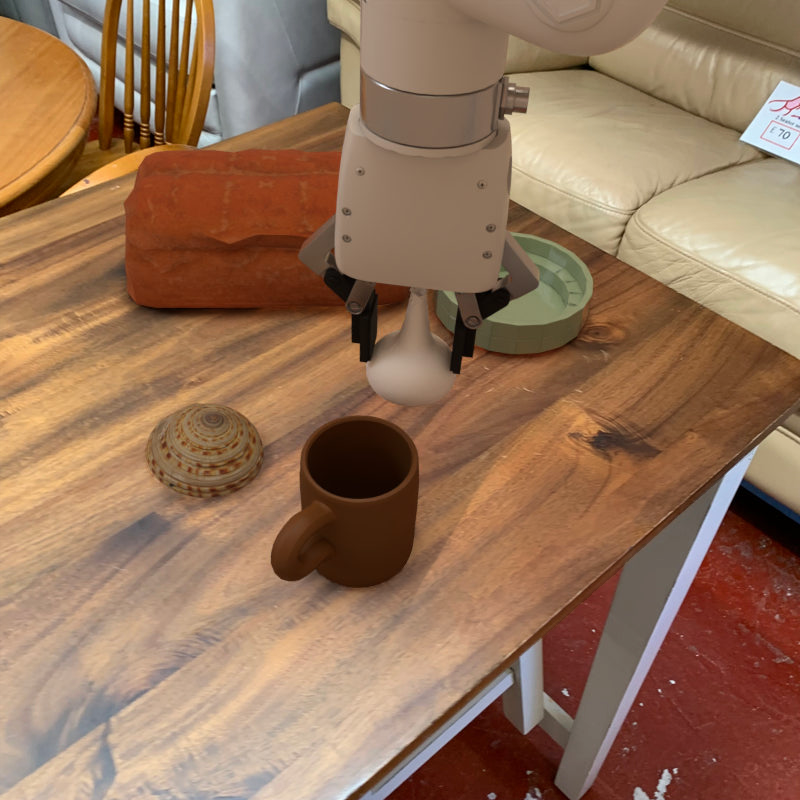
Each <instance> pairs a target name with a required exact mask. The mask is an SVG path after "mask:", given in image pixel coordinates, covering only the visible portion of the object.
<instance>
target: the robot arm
mask: <svg viewBox="0 0 800 800" xmlns="http://www.w3.org/2000/svg"><path fill="white" fill-rule="evenodd" d="M668 2H669V0H359V4H360V5H359V25H360V26H359V102H358V103H356V104H354V105H353V106H352V107H351V109H350V111H349V114H348V118H347V123H346V127H345V132H344V137H343V143H342V149H341V151H342V155H341V162H340V171H339V181H338V192H337V206H336V213H335V214H334V215H333V216H332V217H331V218H330V219H329V220H328V221H327V222H325V223H324V224H323V225H322V226H321V227H320V228H319V229H318V230H317V231H315V232H314V233H313V234H312V235H311V236H310V237H309V238H308V239H307V240H305V241H304V243H303V244H302V247H301V249H300V252H299V255H298V257H299V260H300V261H301V262H302V263H304V264H305V265H306V266H307V267H308V268H309V269H311V270H312V271H313V272H314V273H315V274H317V275H318V276H319V275H320V276H321V277H322V278H323V279H324V283H325V284H326V285H327V286H328V287H329V288H330V289H331V290H332V291H333V292H334V293H335V294H336V295H338V296H339V297H340V298H341V299H342V300H343V301H344V302H345V303H346V305H345V306H344V307H345V310H346V312H348V313H349V314H350V316H351V317H350V318H351V321H350V323H351V324H350V326H351V327H350V328H351V332H350V333H351V334H350V337H351V344H357V345H359V363H367V362H368V361H371V357H372V353H373V349H374V345H375V344H376V342H377V338H378V337H377V336H378V316H379V315H378V314H379V305H378V294H376V289H374V287H375V285H376V283H384V284H392V285H400V286H408V287H416V288H425V289H427V290H433V291H434V290H443V291H452V292H454V293H455V296H456V300H457V303H458V309H457V316H456V323H455V329H454V333H453V337H452V338H453V339H452V340H453V341H452V349H451V351H452V356H451V365H450V371H452V372H453V374H457V375H461V370H462V363H463V358H469V359H473V358H474V352H475V346H476V345H475V337H476V330H477V328H479V327H480V326H481V325H482V321H483V320H484V319H486V318H488V317H489V316H491V315H493V314H494V313H496V312H498V311H499V310H501V309H503V308H505V307H506V306H507V305H508V304H509V302H510V301H511V300H513V299H515V300H516V299H518V298H520V297H522V296H523V295H525V294H527V293H529V292H531V291H533V290H535V289H536V288H538V286H539V273H540V271H539V269H538V268H537V266H536V265H535V264H534V263H533V261H532V260H531V259H530V257H529V256H528V255H527V254H526V252H525V251H524V250H523V249H522V247H521V246H520V245H519V244H518V242H517V241H516V240H515V238H514V237H513V236H512V235H511V233H510V232H511V231H509V230H508V220H509V219H508V218H509V209H510V197H511V187H512V176H513V175H512V173H513V172H512V171H513V142H512V130H511V123H510V121H509V120H508V118H506V115H507V116H513V113H516V114H524V115H526V114H527V112H528V108H529V107H528V106H529V99H530V91H531V87H529V86H519V85H517V83H516V82H509V81H510V76H508V75H505V71H506V64H507V58H508V57H507V56H508V50H509V42H510V35H511V36H512V37H515V38H517V39H519V40H521V41H524V42H525V43H528V44H531V45H533V46H535V47H538V48H541V49H543V50H546V51H550V52H552V53H556V54H560V55H563V56H564V55H565V56H571V57H580V58H581V57H583V58H585V57H595V56H601V55H607V54H609V53H612V52H615V51H616V50H618V49H621V48H623V47H625V46H627V45H628V44H630V43H632V42H633V41H634V40H636V39H637V38H638V37H640V36H641V35H642V34H643V33H644V32H645V31H646V30H647V29H649V27H650V26H651V25H652V24H653V23H654V22H655V20H656V19H657V18H658V16H659V15H660V14H661V12H662V11H663V9H664V8H665V6H666V5H667V3H668ZM334 247H335V257H334V255H333V254H332V253H331V252H330V251H331V250H332V249H333V248H334ZM501 264H502V266H503V267H504V268H505V269H506V271H507V272H508V273H509V274H507V275H506V277H504V278H498V277H499V273H500V269H501Z"/></svg>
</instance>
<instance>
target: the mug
mask: <svg viewBox="0 0 800 800" xmlns="http://www.w3.org/2000/svg"><path fill="white" fill-rule="evenodd" d="M419 458H420V457H419V452H418V448H417V446H416V444H415V442H414V440H413V439H412V438H411V436H410V435H409V434H408V433H407V432H406V430H404V429H403V428H401V427H400V425H397V424H395V423H394V422H391V421H389V420H387V419H384V418H381V417H378V416H373V415H365V414H363V415H361V414H358V415H357V414H356V415H348V416H342V417H337V418H335V419H331V420H330V421H327V422H326V423H324V424H322V425H321V426H319V427H318V428H316V429H315V430H313V432H312V433H311V434H310V435H309V437H308V438H307V440H306V441H305V443H304V445H303V446H302V450H301V452H300V458H299V459H300V460H299V493H300V507H301V510H300V511H298V512H296V513H295V514H293V515H292V516H291V517H290V518H289V519H288V520H287V521H286V522H285V523H284V524H283V526H282V527H281V529H280V530H279V532H278V533H277V535H276V537H275V539H274V541H273V542H272V543H273V544H272V548H271V551H270V565H271V568H272V570H273V573H274V575H276V576H277V578H279V579H280V580H282V581H285V582H288V583H289V582H297V581H301V580H304V578H306V577H307V576H309V575H310V574H312V573H313V572H314V571H316V572H317V573H318V574H319V575H320V576H321V577H323V578H324V579H325V580H328V581H329V582H331V583H333V584H334V585H338V586H341V587H345V588H350V589H369V588H373V587H377V586H380V585H382V584H384V583H386V582H389V581H391V579H393V578H395V577H397V575H398V574H400V573H401V571H402V570H403V569H404V568H405V566H406V565H407V563H408V561H409V560H410V558H411V555H412V552H413V550H414V549H413V548H414V542H415V534H416V524H417V522H416V521H417V516H418V505H419V504H418V503H419V492H420V459H419Z"/></svg>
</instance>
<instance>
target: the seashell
mask: <svg viewBox="0 0 800 800" xmlns="http://www.w3.org/2000/svg"><path fill="white" fill-rule="evenodd" d="M264 457H265V453H264V445H263V441H262V437H261V435H260V433H259V431H258V428H256V426H255V425H254V423H252V421H251V420H250V419H249V418H248V417H246V416H245V415H244V414H243V413H241V412H240V411H238V410H236V409H234V408H231V407H229V406H227V405H224V404H219V403H197V402H195V403H192V404H189V405H186V406H184V407H182V408H179V409H178V410H176V411H174V412H173V413H170V414H168V415H167V416H166V417H164V418H161V420H159V421H158V423H156V425H155V426H154V427H153V429H152V431H150V434H149V436H148V439H147V442H146V445H145V459H146V463H147V465H148V467H149V471H151V473H152V475H153V476H154V477H155V478H156V479H157V481H159V482H160V483H161V484H162V485H164V487H166V488H168V489H170V490H172V491H174V492H176V493H178V494H181V495H184V496H187V497H192V498H196V499H197V498H198V499H215V498H221V497H225V496H226V497H227V496H229V495H232V494H234V493H236V492H238V491H240V490H242V489H243V488H244V487H246V486H248V485H249V484H250V483H251V482H252V481H253V480H254V479H255V478H256V477H257V476H258V474H259V472H260V471H261V468H262V465H263V463H264Z"/></svg>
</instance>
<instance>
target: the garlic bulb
mask: <svg viewBox="0 0 800 800" xmlns="http://www.w3.org/2000/svg"><path fill="white" fill-rule="evenodd" d="M410 292H411V293H410V294H409V299H408V304H407V308H406V312H405V316H404V320H403V322H402V325H401V328H400V329H397V330H394V331H391V332H389V333H387V334H386V335H384V336H382V337H381V338H380V339H378V340H377V341H376V342H375V345H374V349H373V353H372V357H371V361H368V362H367V363H366V365H365V371H366V372H365V373H366V379H367V381H368V384H369V386H370V387H371V389H372V390H373V391H374V392H375V393H376V394H377V395H378V396H379V397H380V398H382V399H383V400H385V401H386V402H389V403H391V404H393V405H396V406H397V405H398V406H402V407H409V408H417V407H419V408H420V407H425V406H431V405H434V404H437V403H438V402H440V401H442V400H443V399H445V398H446V397H447V396H448V395H449V394H450V392H451V391H452V390H453V388H454V387H455V386H454V385H455V383H456V379H457V375H458V374H453V372H452V371H450V365H451V356H452V349H451V348H450V346H449V345H448V343H446V341H444V340H443V339H442V338H441V337H439V336H438V335H436V334H435V333H433V332H432V331H431V326H430V325H431V324H430V315H429V314H430V313H429V312H430V311H429V304H428V298H427V296H428V289H425V288H416V287H414V288H413V287H411V288H410Z"/></svg>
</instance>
